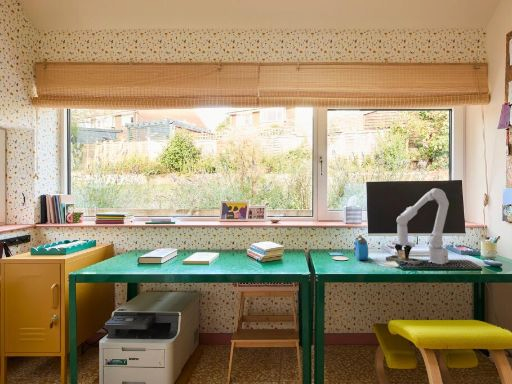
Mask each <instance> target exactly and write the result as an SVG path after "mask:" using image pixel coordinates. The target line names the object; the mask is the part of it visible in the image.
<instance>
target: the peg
mask: <svg viewBox="0 0 512 384" xmlns="http://www.w3.org/2000/svg"><path fill="white" fill-rule="evenodd" d="M398 256H399V259H403V260H406V259H409V258H410V257H409V258H406V257H405V250H404V249H402V250H399V255H398Z"/></svg>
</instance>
